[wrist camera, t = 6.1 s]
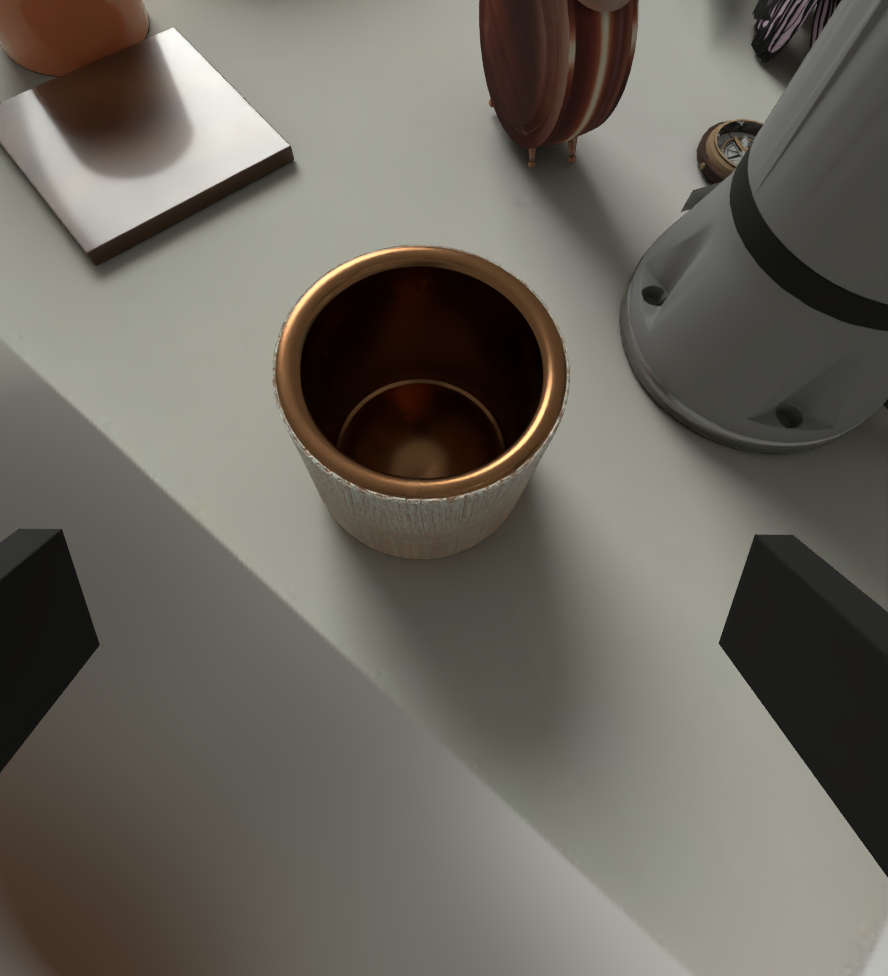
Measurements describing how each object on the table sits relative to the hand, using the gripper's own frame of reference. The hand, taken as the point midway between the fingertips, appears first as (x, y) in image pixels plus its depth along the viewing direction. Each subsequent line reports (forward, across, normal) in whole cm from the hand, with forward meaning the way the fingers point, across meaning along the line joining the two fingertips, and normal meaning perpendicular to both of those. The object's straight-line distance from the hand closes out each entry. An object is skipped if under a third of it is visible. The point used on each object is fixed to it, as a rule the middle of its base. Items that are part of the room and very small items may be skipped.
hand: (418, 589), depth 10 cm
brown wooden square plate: (+33, -18, +11) cm, 39 cm away
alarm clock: (+34, +7, +12) cm, 37 cm away
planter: (+17, 0, -5) cm, 18 cm away
